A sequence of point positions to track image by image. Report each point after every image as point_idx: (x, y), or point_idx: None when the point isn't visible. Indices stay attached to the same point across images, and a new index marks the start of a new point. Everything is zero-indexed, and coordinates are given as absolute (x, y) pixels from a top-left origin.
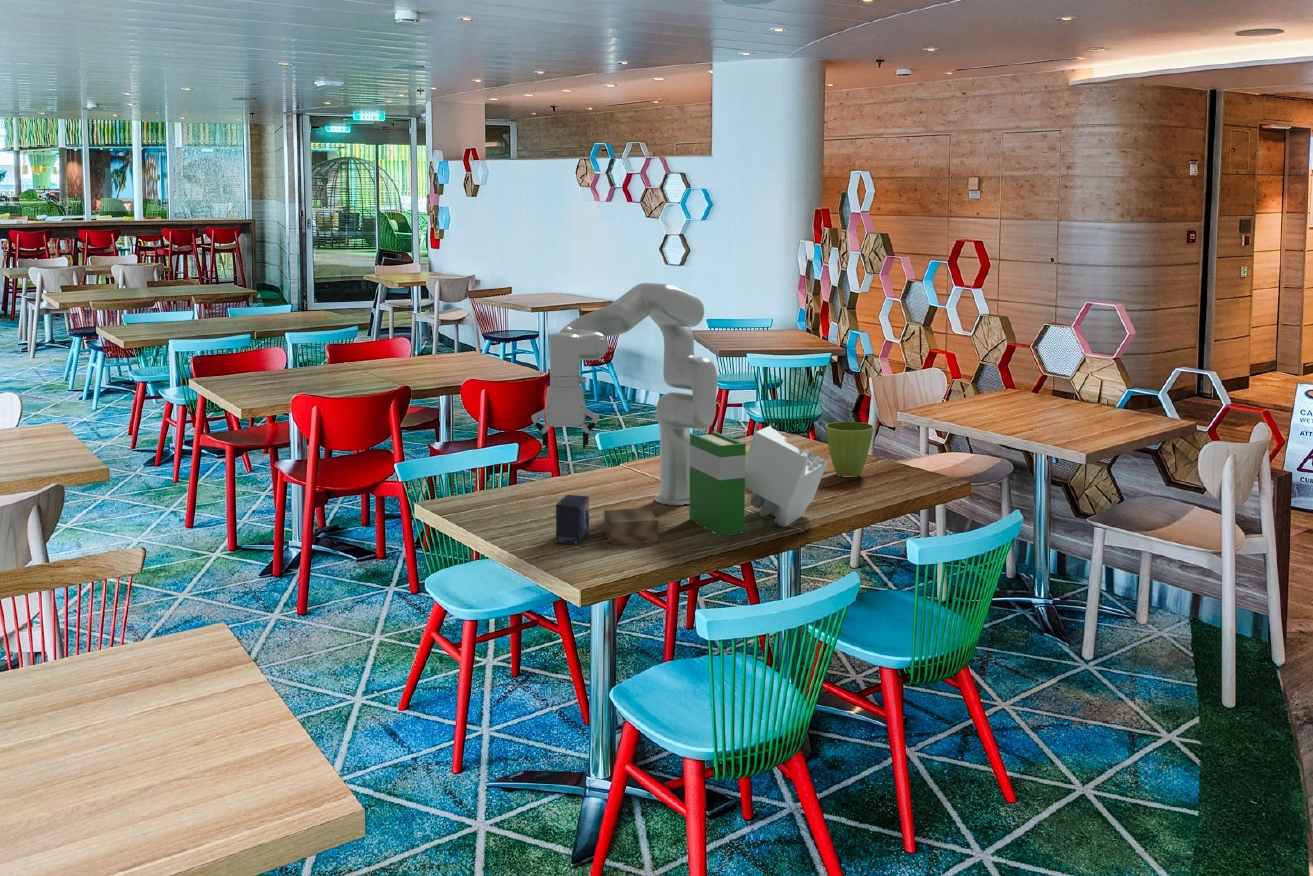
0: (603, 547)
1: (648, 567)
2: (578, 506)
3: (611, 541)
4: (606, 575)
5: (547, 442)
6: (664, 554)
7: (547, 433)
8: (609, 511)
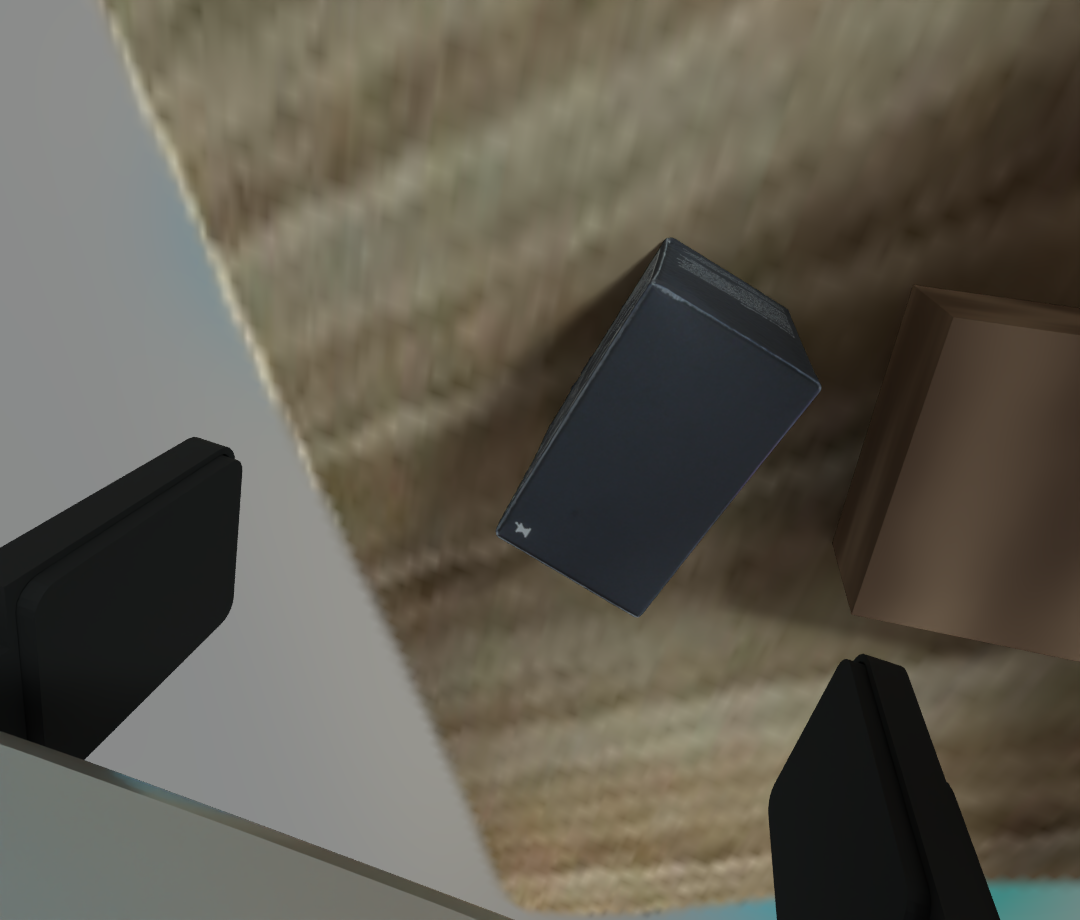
0: (767, 573)
1: None
2: (638, 616)
3: (834, 549)
4: (640, 864)
5: (160, 671)
6: (1009, 775)
7: (33, 732)
8: (976, 364)
